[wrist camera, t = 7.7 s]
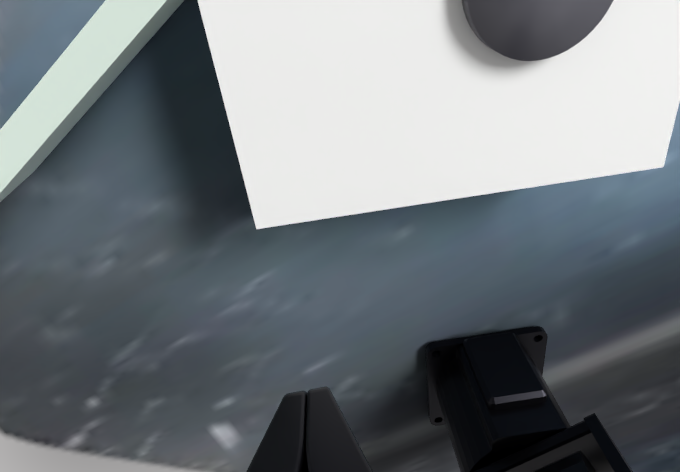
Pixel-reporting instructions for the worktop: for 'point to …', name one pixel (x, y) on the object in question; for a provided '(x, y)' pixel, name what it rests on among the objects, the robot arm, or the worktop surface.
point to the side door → (76, 83)
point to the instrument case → (438, 97)
